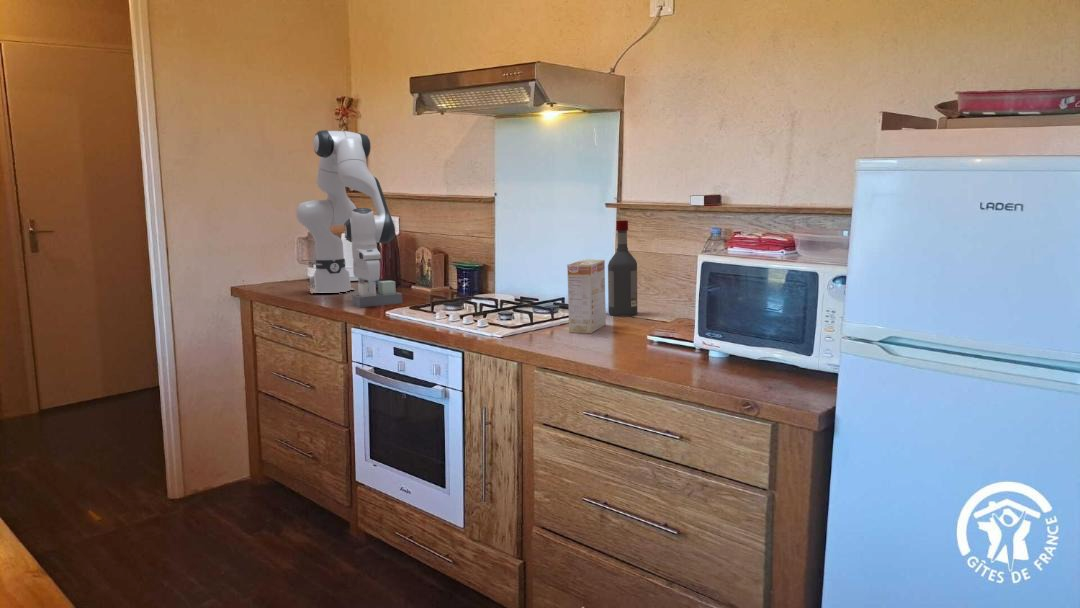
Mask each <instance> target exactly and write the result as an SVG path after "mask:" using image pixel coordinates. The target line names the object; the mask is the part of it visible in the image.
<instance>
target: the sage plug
mask: <svg viewBox="0 0 1080 608" xmlns="http://www.w3.org/2000/svg"><path fill="white" fill-rule="evenodd" d="M396 292H397V290H396V281H394V280H377V293H378V294H379V295H390V294H396Z"/></svg>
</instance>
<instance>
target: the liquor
mask: <svg viewBox="0 0 1080 608" xmlns="http://www.w3.org/2000/svg"><path fill="white" fill-rule="evenodd" d="M615 222H616V224H615V225H616V226H615V227H616V231H617V248H616V252H615V253H614V254H613V255H612V257H611V258H610V260H609V261H608V263H607V264H608V265H607V291H608V292H607V295H608V299H607V301H608V308H607V309H608V314H609V316H613V317H632V316H637V314H638V262H637V260H636V258H635V257H634V256H633V255H632V254H631V252H630V251H629V248H628V231H629V220H616V221H615Z"/></svg>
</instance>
